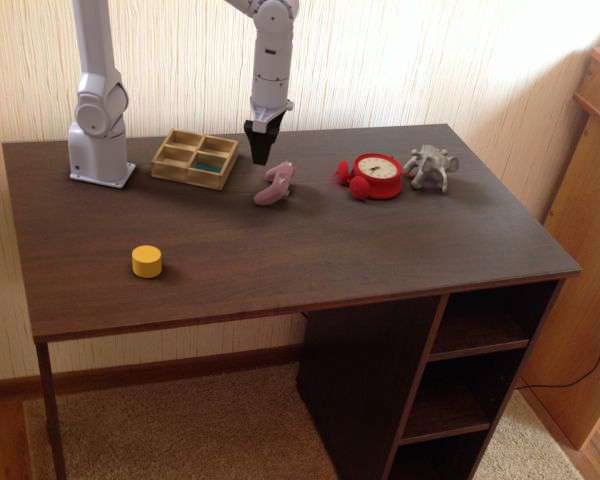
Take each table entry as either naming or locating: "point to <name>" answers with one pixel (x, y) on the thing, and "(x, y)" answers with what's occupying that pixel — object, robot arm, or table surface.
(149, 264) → the yellow cylinder
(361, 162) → the alarm clock
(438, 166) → the gray elephant figurine
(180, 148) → the grid
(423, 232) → the table surface
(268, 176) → the pink curved piece
